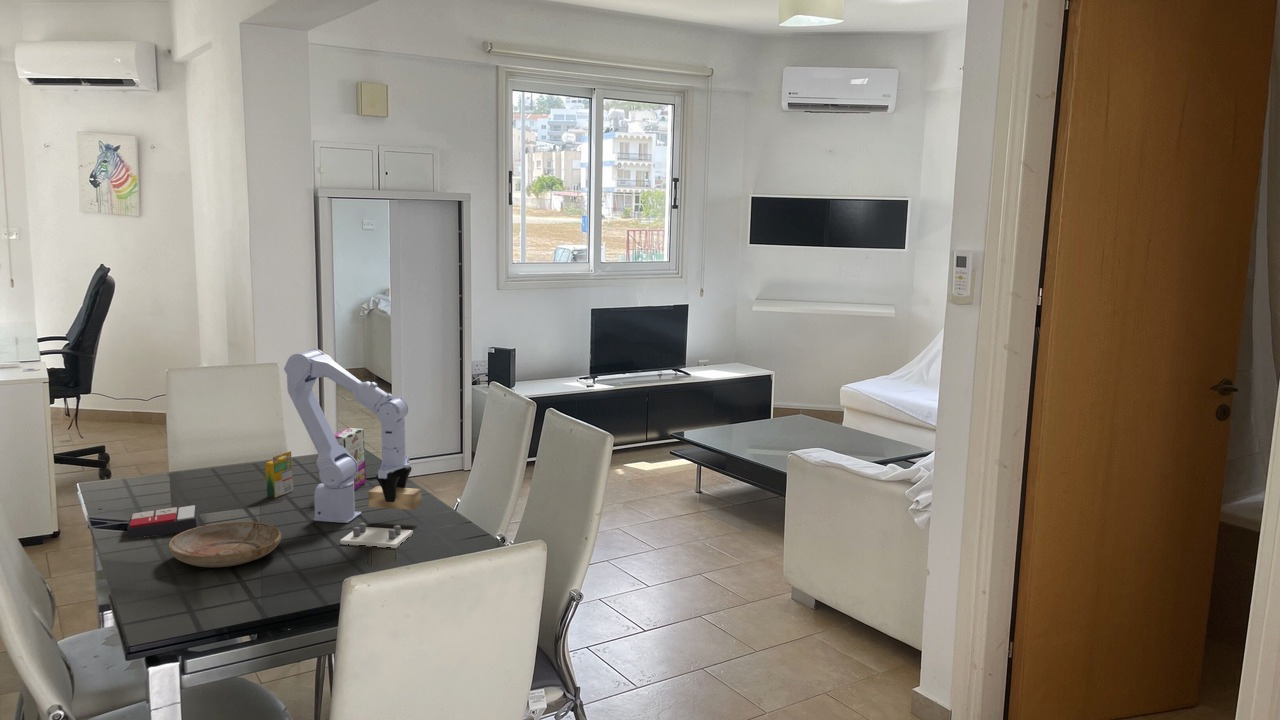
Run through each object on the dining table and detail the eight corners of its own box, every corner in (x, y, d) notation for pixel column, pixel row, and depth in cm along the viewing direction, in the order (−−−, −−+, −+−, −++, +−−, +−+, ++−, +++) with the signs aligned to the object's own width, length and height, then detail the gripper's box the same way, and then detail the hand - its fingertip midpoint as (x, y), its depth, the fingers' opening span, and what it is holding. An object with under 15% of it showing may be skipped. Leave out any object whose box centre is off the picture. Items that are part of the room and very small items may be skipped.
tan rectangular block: (368, 506, 238) (368, 491, 238) (377, 500, 243) (376, 485, 243) (413, 509, 236) (413, 494, 236) (421, 504, 241) (421, 488, 241)
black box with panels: (130, 512, 235) (196, 502, 241) (132, 528, 235) (198, 518, 241) (126, 525, 225) (195, 515, 231) (128, 543, 226) (197, 532, 231)
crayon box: (285, 489, 266) (283, 449, 265) (293, 491, 265) (292, 451, 264) (266, 496, 260) (264, 455, 258) (275, 498, 259) (273, 457, 257)
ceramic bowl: (212, 586, 199) (210, 563, 198) (148, 563, 211) (146, 541, 210) (303, 553, 218) (302, 532, 217) (239, 533, 230) (238, 514, 230)
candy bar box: (350, 482, 275) (348, 427, 272) (366, 483, 274) (364, 428, 271) (330, 493, 264) (328, 436, 261) (347, 494, 263) (345, 437, 260)
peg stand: (340, 544, 224) (339, 532, 223) (359, 530, 234) (359, 518, 233) (396, 548, 222) (395, 536, 221) (412, 534, 231) (412, 522, 231)
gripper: (396, 454, 230) (397, 508, 232) (419, 440, 244) (420, 491, 246) (369, 452, 231) (370, 506, 233) (394, 439, 245) (395, 489, 247)
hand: (394, 498), depth 239 cm, fingers closed on tan rectangular block, 5 cm apart
